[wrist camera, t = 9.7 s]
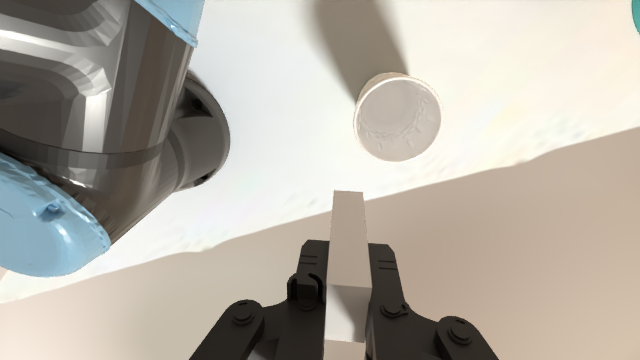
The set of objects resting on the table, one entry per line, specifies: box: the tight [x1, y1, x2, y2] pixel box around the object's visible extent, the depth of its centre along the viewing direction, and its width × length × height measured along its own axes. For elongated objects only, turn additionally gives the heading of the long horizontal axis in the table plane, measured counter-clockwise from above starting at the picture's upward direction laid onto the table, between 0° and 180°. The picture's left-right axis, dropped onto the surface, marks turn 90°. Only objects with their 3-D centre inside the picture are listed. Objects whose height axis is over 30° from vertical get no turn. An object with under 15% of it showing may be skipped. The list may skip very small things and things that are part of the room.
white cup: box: [353, 72, 443, 163], centre depth 31 cm, size 8×8×10 cm
